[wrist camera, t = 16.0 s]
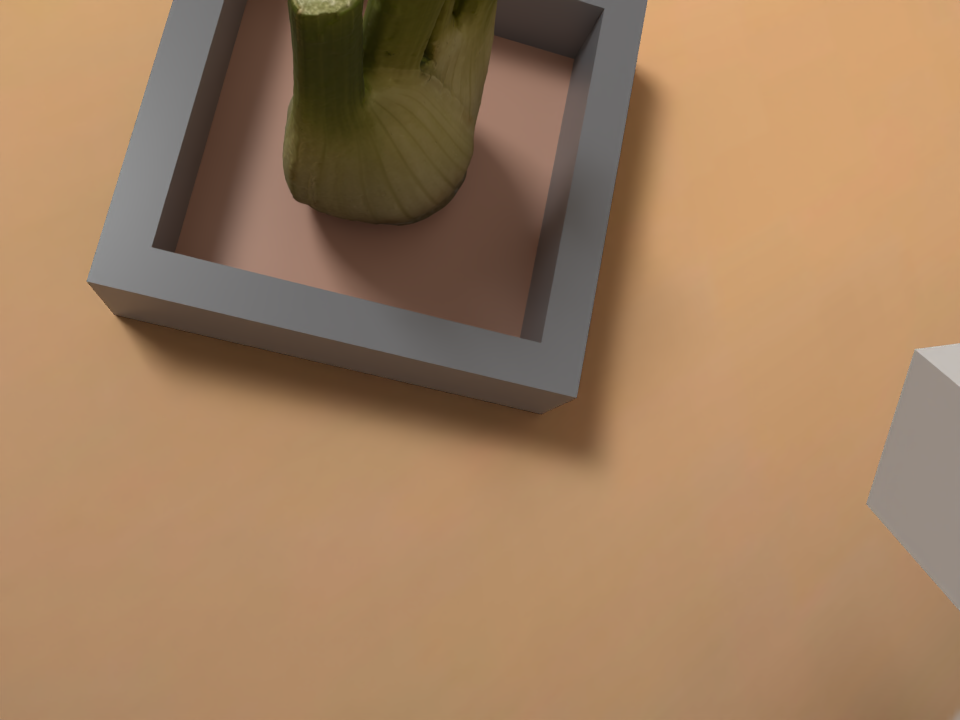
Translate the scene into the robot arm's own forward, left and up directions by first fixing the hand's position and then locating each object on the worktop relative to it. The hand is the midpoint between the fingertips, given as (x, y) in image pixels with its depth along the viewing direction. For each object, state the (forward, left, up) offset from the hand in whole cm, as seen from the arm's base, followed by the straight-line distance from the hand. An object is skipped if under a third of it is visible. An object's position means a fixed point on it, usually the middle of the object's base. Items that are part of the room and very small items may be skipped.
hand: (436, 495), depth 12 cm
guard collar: (+10, +2, -14) cm, 18 cm away
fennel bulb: (+10, +2, -14) cm, 17 cm away
